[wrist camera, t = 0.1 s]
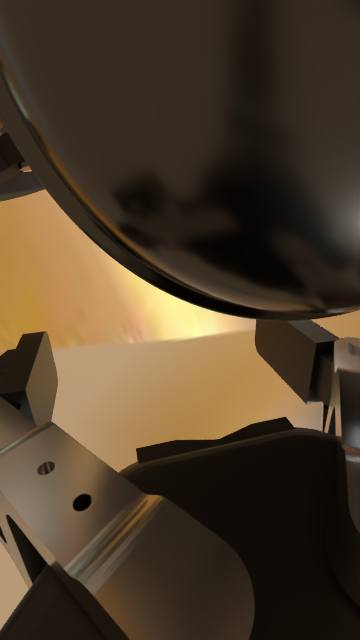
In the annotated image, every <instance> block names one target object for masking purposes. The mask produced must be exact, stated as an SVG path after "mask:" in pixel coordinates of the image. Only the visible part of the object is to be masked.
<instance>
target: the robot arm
mask: <svg viewBox="0 0 360 640" xmlns="http://www.w3.org/2000/svg"><path fill="white" fill-rule="evenodd" d="M255 345H256V349H257V352H258V353H259V355H260V356H261V357H262V358H263V359H264V360H265V361H266V362H267V363H268V364H269V365H270V366H271V367H272V368H273V369H274V370H275V372H276V373H277V374H278V375H279V376H280V377H281V378H282V379H283V380H284V381H285V382H286V383H287V384H288V385H289V386H290V387H291V388H292V389H293V391H294V392H295V393H296V394H297V395H298V396H299V397H300V398H301V399H302V400H303V401H304V402H305V403H306V404H310V403H315V402H320V401H322V402H323V406H322V412H321V431H318V430H314V429H308V428H296V427H293V425H292V424H291V423H290V421H289V420H288V419H287V418H286V417H282V418H278V419H273V420H268V421H263V422H259V423H255V424H251V425H248V426H247V427H244V428H242V429H240V430H238V431H236V432H234V433H231V434H229V435H227V436H225V437H223V438H221V439H217V440H175V441H169V442H165V443H160V444H155V445H151V446H146V447H141V448H137V449H136V452H137V460H138V462H136V463H134V464H131V465H130V466H128V467H126V468H125V469H123V470H122V471H120V472H119V473H118V472H116V471H115V470H114V469H113V468H111V467H110V466H109V465H107V464H106V463H105V462H103V461H102V460H101V459H99V458H98V457H97V456H96V455H94V454H93V453H92V452H91V451H89V450H88V449H87V448H85V447H84V446H83V445H81V444H80V443H79V442H78V441H76V440H75V439H74V438H72V437H71V436H70V435H69V434H67V433H66V432H64V431H63V430H62V429H61V428H60V427H58V426H57V425H56V424H54V423H53V422H51V420H52V414H53V408H54V403H55V397H56V392H57V385H58V384H57V383H58V381H57V371H56V367H55V362H54V358H53V353H52V349H51V345H50V340H49V337H48V334H47V332H46V331H44V332H36V333H28V334H23V335H22V337H21V339H20V341H19V343H18V345H17V347H16V349H12V350H7V351H6V352H5V353H3V354H2V355H1V356H0V542H1V543H2V545H3V546H4V548H5V549H6V550H7V552H8V553H9V555H10V556H11V558H12V559H13V561H14V563H15V565H16V566H17V568H18V570H19V572H20V574H21V576H22V578H23V579H24V581H25V583H26V584H27V586H28V588H29V590H28V592H27V593H26V595H25V596H24V597H23V599H22V600H21V602H20V603H19V605H18V606H17V608H16V609H15V610H14V612H13V613H12V614H11V616H10V617H9V619H8V620H7V622H6V623H5V624H4V626H3V627H2V629H1V630H0V640H360V338H353V337H346V338H338V337H337V336H335V335H333V334H332V333H330V332H329V331H327V330H326V329H324V328H323V327H320V326H319V325H318V324H316V323H315V322H314V323H313V321H312V320H296V321H271V320H258V319H256V331H255Z"/></svg>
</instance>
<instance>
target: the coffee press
mask: <svg viewBox="0 0 360 640" xmlns="http://www.w3.org/2000/svg"><path fill="white" fill-rule="evenodd" d="M0 120H1V122H2V123H3V125H4V127H3V128H1V129H0V133H1V136H0V201H5V200H9V199H14V198H18V197H21V196H25V195H28V194H32V193H35V192H38V191H41V190H44V189H46V190H47V192H48V193H49V194H50V195H51V197H52V198H53V199H54V200H55V201H56V203H57V204H58V205H59V206H60V207H61V209H62V210H63V211H64V212H65V213H66V214H67V215H68V216H69V218H70V219H71V220H72V221H73V222H74V223H75V224H76V225H77V226H78V227H79V228H80V229H81V230H82V231H83V232H84V233H85V234H86V235H87V236H88V237H89V238H90V239H91V240H92V241H93V242H94V243H96V244H97V245H98V246H99V247H100V248H101V249H102V250H103V251H105V252H106V253H107V254H108V255H109V256H111V257H112V258H113V259H114V260H116V261H117V262H118V263H120V264H121V265H122V266H124V267H125V268H126V269H128V270H129V271H131V272H132V273H134V274H135V275H137V276H138V277H140V278H141V279H143V280H145V281H146V282H148V283H150V284H151V285H153V286H155V287H157V288H158V289H160V290H162V291H164V292H166V293H168V294H170V295H172V296H174V297H177V298H179V299H181V300H184V301H186V302H188V303H191V304H194V305H196V306H199V307H202V308H205V309H208V310H212V311H215V312H219V313H223V314H227V315H232V316H237V317H243V318H249V319H258V320H271V321H296V320H310V319H319V318H325V317H332V316H337V315H342V314H346V313H350V312H354V311H358V310H360V0H0ZM27 170H32V171H31V172H23V171H27Z"/></svg>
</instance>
